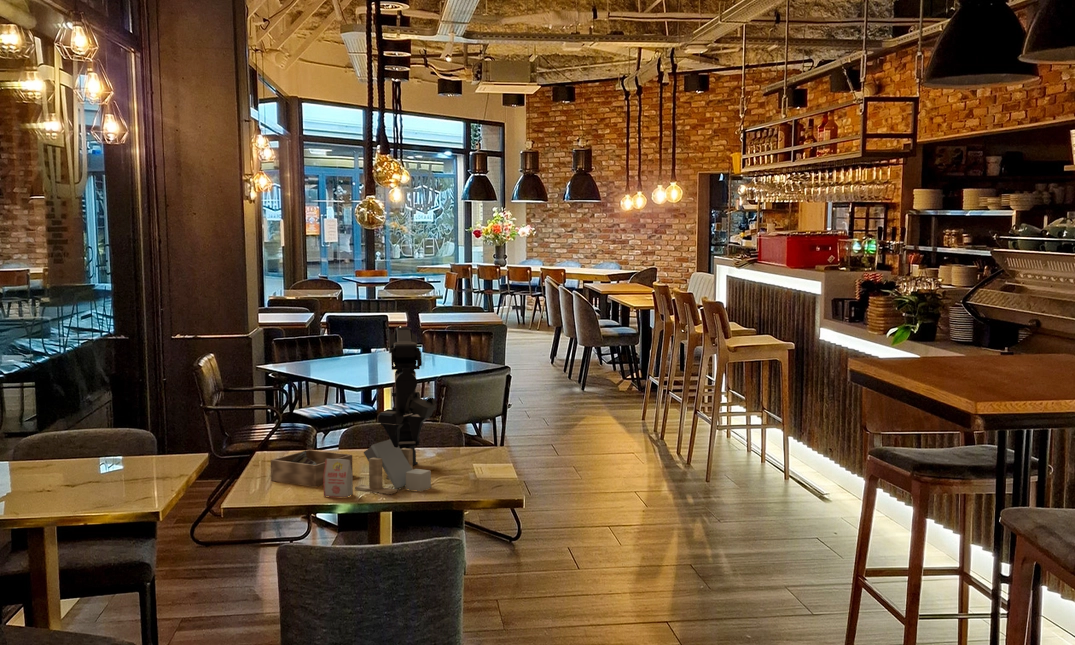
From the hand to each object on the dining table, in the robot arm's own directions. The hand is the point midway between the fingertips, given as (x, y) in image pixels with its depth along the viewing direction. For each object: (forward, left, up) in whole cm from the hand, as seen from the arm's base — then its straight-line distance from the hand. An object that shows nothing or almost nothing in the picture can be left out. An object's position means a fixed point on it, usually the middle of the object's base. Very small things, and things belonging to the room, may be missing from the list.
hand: (405, 444), depth 260 cm
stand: (-5, 0, -12) cm, 13 cm away
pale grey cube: (+1, 0, -10) cm, 10 cm away
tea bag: (-11, -16, -12) cm, 23 cm away
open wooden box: (-31, -3, -12) cm, 33 cm away
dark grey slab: (-7, 0, -8) cm, 11 cm away
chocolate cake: (-34, -5, -13) cm, 37 cm away
